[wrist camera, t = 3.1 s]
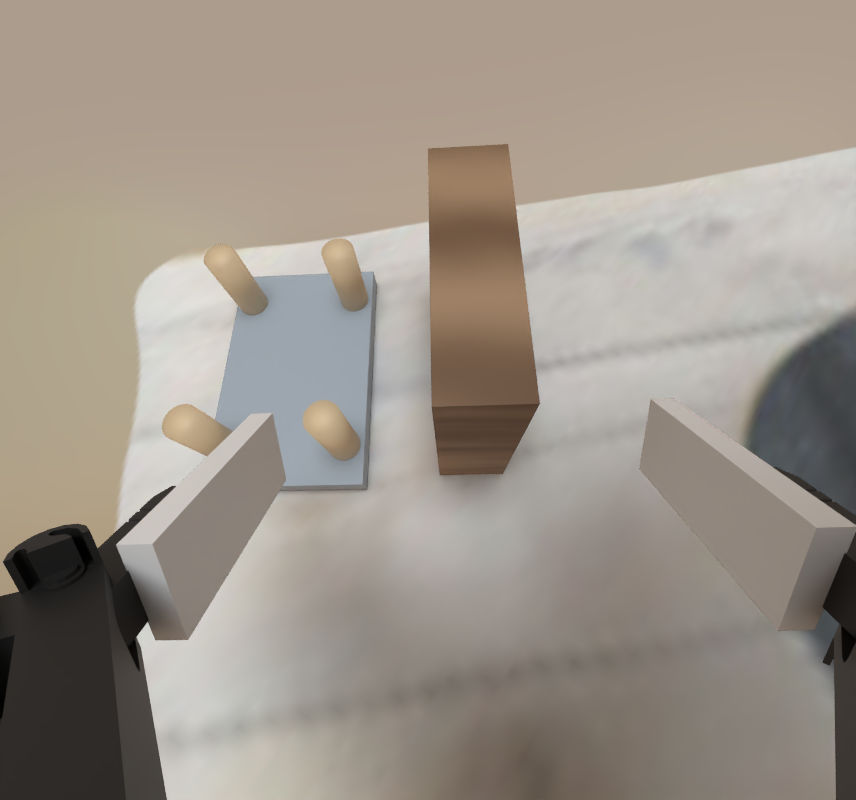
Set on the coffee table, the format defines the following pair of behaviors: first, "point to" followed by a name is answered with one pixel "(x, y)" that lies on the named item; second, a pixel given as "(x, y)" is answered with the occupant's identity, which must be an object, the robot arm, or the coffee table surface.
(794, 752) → the coffee table surface
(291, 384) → the cradle
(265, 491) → the robot arm
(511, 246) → the board
